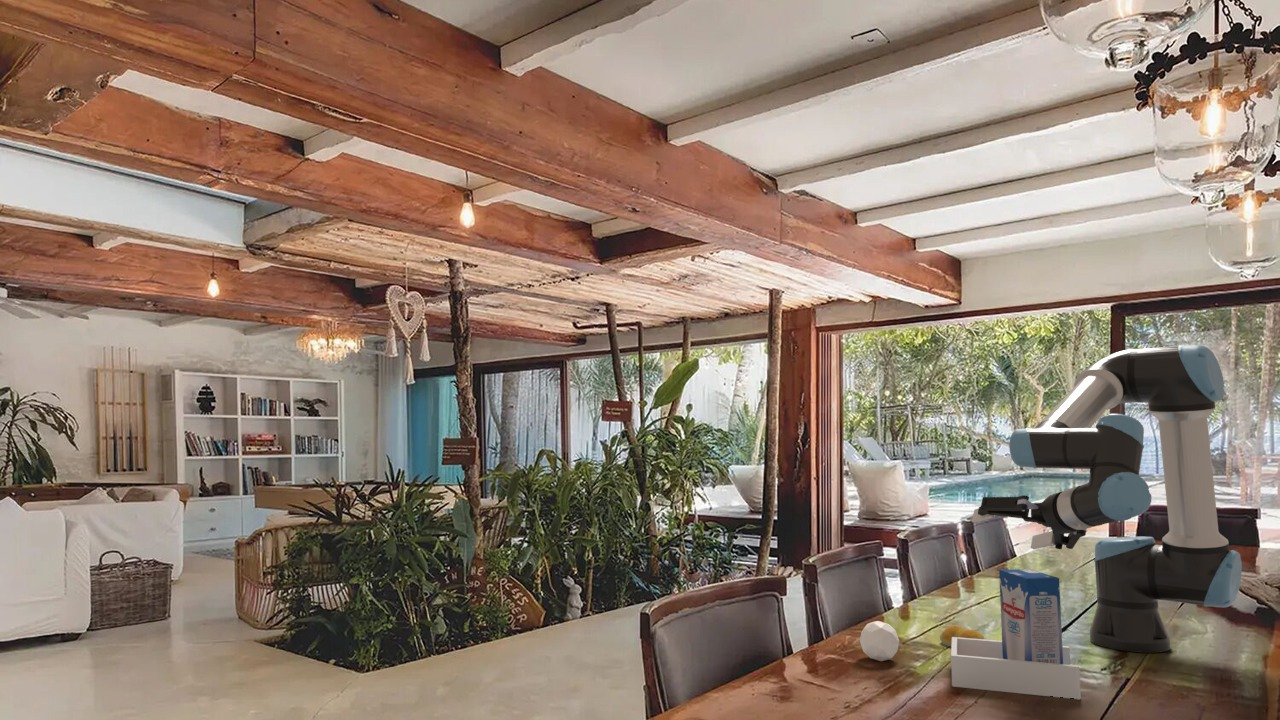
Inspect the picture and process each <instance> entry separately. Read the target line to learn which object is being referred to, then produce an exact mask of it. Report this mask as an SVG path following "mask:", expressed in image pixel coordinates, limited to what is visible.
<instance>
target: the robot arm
mask: <svg viewBox="0 0 1280 720" xmlns="http://www.w3.org/2000/svg"><path fill="white" fill-rule="evenodd" d="M1224 387H1225V383H1224V378H1223V373H1222V369H1221V366H1220V364H1219V362H1218V359H1217V357H1216V355H1215V354H1214V352H1213V351H1212V350H1211V349H1210V348H1209V347H1207V346H1205V345H1201V344H1198V345H1197V344H1196V345H1195V344H1193V345H1190V344H1189V345H1186V344H1181V345H1174V346H1173V345H1172V346H1171V345H1170V346H1160V347H1159V346H1158V347H1148V348H1146V347H1145V348H1130V349H1125V350H1124V349H1123V350H1120V351H1116V352H1113V353H1111V354H1108V355H1106V356H1103V357H1102V358H1100V359H1098V360H1096V361H1095V362H1094V363H1092V364H1090V365H1088V366H1087V367H1086V368H1085V369H1084V370H1081V372H1080V374H1079V375H1077V376H1076V378H1075V380H1074V386H1073V388H1072V389H1071V390H1070V391H1069V392H1068V393H1067V394H1066V395H1064V397H1063V398H1062V399H1061V400H1060V401H1059V402H1058V403H1057V404H1056V405H1055V406H1054V407H1053V408H1052V409H1051V411H1050V412H1049V413H1048V414H1047V415H1046V416H1045V417H1043V419H1042V420H1041V421H1040V422H1039V423H1038V424H1037V425H1036V426H1035V427H1034V428H1031V427H1025V428H1017V429H1015V430H1013V431H1012V433H1011V435H1010V437H1009V438H1010V439H1009V444H1008V446H1009V447H1008V449H1009V454H1010V457H1011V460H1012V462H1013V463H1014V464H1015V465H1016V466H1019V467H1021V468H1032V469H1034V470H1035V469H1068V470H1069V469H1070V470H1072V469H1073V470H1089V478H1088V482H1086V483H1085V484H1081V485H1077V486H1075V487H1071V488H1067V489H1065V490H1063V491H1059V492H1055V493H1052V494H1050V495H1048V496H1047V497H1046V498H1045V499H1044V500H1043V501H1041V502H1031V501H1030V499H1029V498H1030V497H1029V496H1028V495H1026V494H1025V495H1020V496H983V497H982V500H981V503H980V506H978V508H975V509H974V510H973V514H972V515H973V516H972V519H971V522H972V523H974V524H977V523H980V522H982V521H986V520H990V519H993V518H994V516H997V517H999V516H1000V517H1006V518H1016V519H1023V521H1024V522H1027V523H1028V522H1030V523H1037V524H1038V525H1041V526H1044V527H1046V528H1050V529H1051V531H1047V532H1043V533H1039V534H1036V535H1033V536H1032V538H1031V544H1030V549H1031V550H1037V549H1041V548H1046V547H1052V546H1054V547H1055V549H1057V550H1062V549H1063V545H1064V546H1065V548H1067V549H1069V550H1072V549H1074V547H1075V546H1076V544H1077V543H1078V541H1079V540H1080V538H1082V537H1085V536H1086V534H1087V529H1090V528H1094V527H1100V526H1102V525H1105V524H1110V523H1115V522H1123V521H1124V522H1125V521H1128V520H1130V519H1132V518H1134V517H1138V516H1141V515H1142V514H1145V513H1147V511H1148V510H1149V508H1150V506H1151V505H1152V493H1150V490H1149V489H1150V486H1149V485H1148V483H1147V482H1146V480H1145V479H1143V477H1141V476H1140V471H1141V465H1142V464H1141V463H1142V457H1143V452H1144V451H1143V450H1144V448H1145V447H1144V433H1145V429H1144V425H1143V424H1142V423H1141V422H1140V421H1139V420H1138V419H1136V418H1135V417H1132V416H1130V415H1127V414H1122V413H1109V414H1107V415H1103V414H1104V413H1105V412H1106V411H1108V410H1111V409H1113V408H1115V407H1117V406H1118V405H1119V404H1129V403H1132V404H1133V403H1139V404H1140V403H1142V404H1143V403H1145V404H1146V403H1148V411H1149V413H1150V414H1151V415H1153V416H1154V417H1155V418H1157V420H1158V429H1159V436H1160V437H1159V438H1160V446H1161V447H1160V448H1161V458H1162V469H1163V477H1164V478H1163V480H1164V488H1165V497H1166V498H1165V499H1166V507H1167V508H1166V509H1167V519H1168V528H1169V529H1168V532H1167V533H1166V534H1165V535H1164V536H1162V539H1161V544H1156V540H1155V538H1154V537H1153V536H1145V535H1144V536H1121V537H1109V538H1103V539H1100V540H1098V541H1097V542H1096V543H1095V547H1094V560H1093V561H1094V568H1095V570H1094V571H1095V587H1096V600H1097V602H1096V604H1097V605H1096V609H1095V612H1094V616H1093V619H1092V623H1091V625H1090V629H1089V640H1090V641H1091V643H1093V644H1096V645H1098V646H1100V647H1103V648H1108V649H1112V650H1118V651H1123V652H1124V651H1126V652H1131V653H1132V652H1134V653H1144V654H1145V653H1148V654H1149V653H1151V654H1153V653H1154V654H1155V653H1164V652H1168V651H1170V650H1171V639H1170V636H1169V634H1168V631H1167V629H1166V626H1165V624H1164V621H1163V618H1162V616H1161V614H1160V611H1159V601H1164V602H1165V601H1167V602H1174V603H1182V604H1189V605H1190V604H1191V605H1198V606H1203V607H1205V608H1208V607H1211V608H1213V607H1214V608H1229V607H1231V606H1232V605H1233V604H1234V603H1235V601H1236V600H1237V597H1238V595H1239V590H1240V587H1241V581H1242V580H1241V579H1242V571H1243V568H1242V567H1243V566H1242V565H1243V563H1242V559H1241V554H1240V552H1238V551H1236V550H1234V549H1230V543H1229V540H1228V538H1226V537H1225V536H1224V535H1222V534H1221V533H1220V531H1219V524H1218V512H1217V503H1216V494H1215V493H1216V491H1215V483H1214V472H1213V461H1212V453H1211V443H1210V442H1211V441H1210V432H1209V430H1210V429H1209V421H1208V418H1209V416H1210V415H1211V414H1212V413H1213V412H1214V411H1215V410H1216V403H1215V402H1218V401H1221V400H1223V398H1224V395H1225V388H1224ZM1096 422H1097V423H1096ZM1095 423H1096V424H1095ZM1094 424H1095V427H1094ZM1029 515H1030V516H1029ZM1066 534H1068V535H1066Z"/></svg>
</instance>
